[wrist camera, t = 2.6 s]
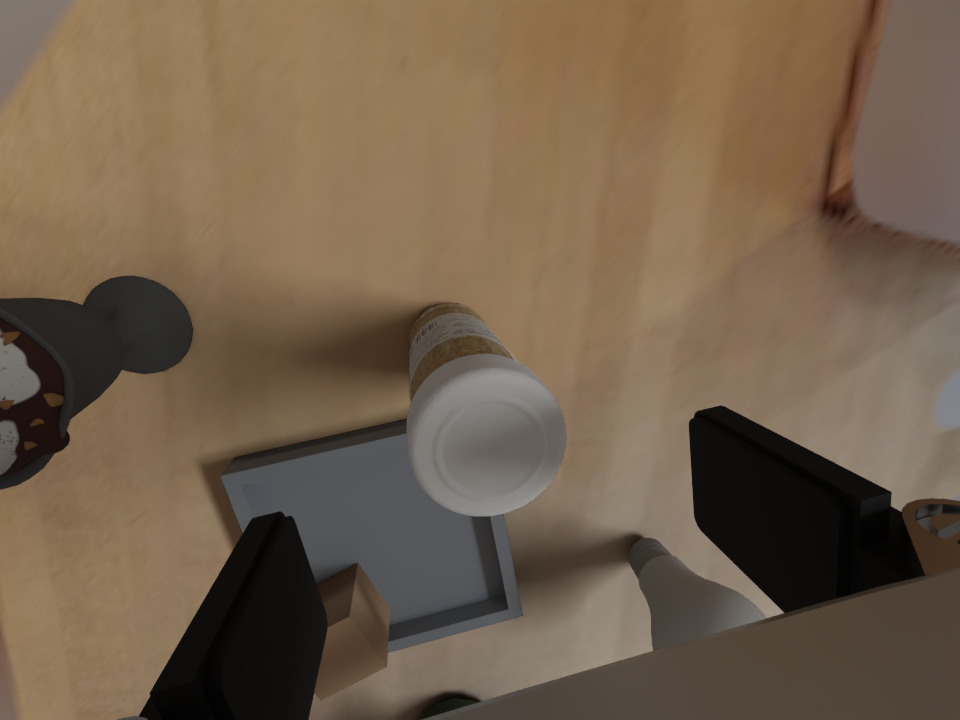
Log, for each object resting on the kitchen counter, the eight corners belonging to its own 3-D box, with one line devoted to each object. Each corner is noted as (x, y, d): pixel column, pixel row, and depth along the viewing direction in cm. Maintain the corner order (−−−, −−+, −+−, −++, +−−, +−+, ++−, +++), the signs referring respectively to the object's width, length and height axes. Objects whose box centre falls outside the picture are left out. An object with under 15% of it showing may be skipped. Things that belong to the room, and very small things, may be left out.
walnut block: (298, 592, 27) (279, 651, 23) (358, 562, 27) (349, 616, 23) (332, 637, 28) (320, 700, 24) (389, 608, 28) (386, 666, 24)
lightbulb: (579, 551, 30) (670, 718, 20) (647, 490, 30) (776, 629, 19) (632, 598, 32) (741, 774, 22) (696, 541, 32) (840, 693, 21)
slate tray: (234, 457, 25) (220, 475, 23) (479, 402, 26) (484, 415, 24) (306, 647, 29) (299, 676, 27) (515, 591, 30) (522, 615, 28)
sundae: (170, 412, 24) (-191, 679, 9) (37, 339, 22) (-662, 533, 8) (238, 314, 23) (-43, 442, 9) (106, 229, 21) (-527, 215, 7)
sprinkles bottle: (446, 395, 26) (482, 551, 13) (390, 338, 24) (369, 451, 12) (505, 342, 26) (602, 450, 13) (452, 282, 24) (501, 334, 11)
